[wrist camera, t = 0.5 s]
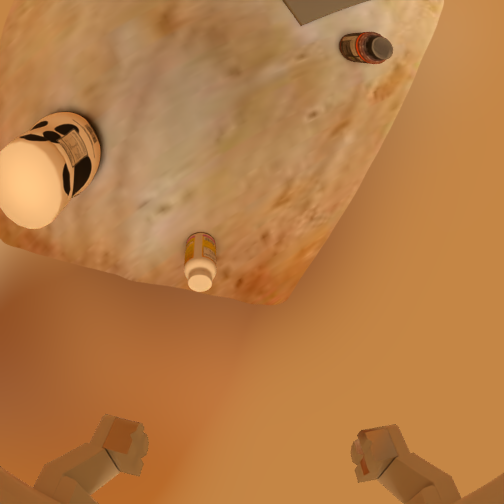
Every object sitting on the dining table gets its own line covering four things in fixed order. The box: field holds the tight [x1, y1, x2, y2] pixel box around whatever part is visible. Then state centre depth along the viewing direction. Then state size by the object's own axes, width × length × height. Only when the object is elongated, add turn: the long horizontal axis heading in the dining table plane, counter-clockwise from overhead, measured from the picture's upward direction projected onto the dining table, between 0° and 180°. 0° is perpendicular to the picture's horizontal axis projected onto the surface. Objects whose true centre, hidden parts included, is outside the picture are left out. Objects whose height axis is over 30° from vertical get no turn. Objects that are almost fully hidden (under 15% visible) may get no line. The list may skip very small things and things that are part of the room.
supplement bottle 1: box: [184, 233, 216, 292], centre depth 59 cm, size 7×7×13 cm
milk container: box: [0, 112, 100, 229], centre depth 38 cm, size 17×17×18 cm
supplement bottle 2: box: [340, 32, 393, 64], centre depth 35 cm, size 6×6×11 cm
